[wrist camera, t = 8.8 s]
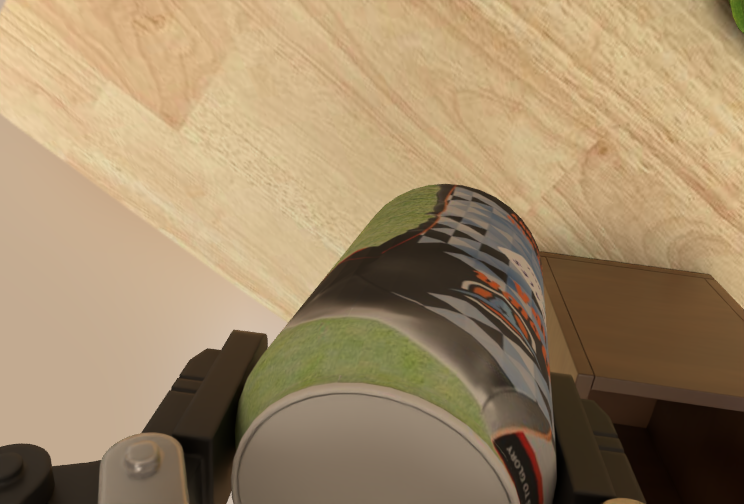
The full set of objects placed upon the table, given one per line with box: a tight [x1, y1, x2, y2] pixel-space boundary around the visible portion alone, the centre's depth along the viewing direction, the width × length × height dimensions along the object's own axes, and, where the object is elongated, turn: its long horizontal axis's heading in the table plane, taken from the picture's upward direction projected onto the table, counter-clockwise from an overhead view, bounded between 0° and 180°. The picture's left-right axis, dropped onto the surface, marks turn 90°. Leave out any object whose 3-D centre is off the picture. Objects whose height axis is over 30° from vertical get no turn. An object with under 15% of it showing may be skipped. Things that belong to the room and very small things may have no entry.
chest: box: [539, 252, 744, 504], centre depth 37 cm, size 14×12×14 cm
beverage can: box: [231, 184, 557, 504], centre depth 15 cm, size 6×7×12 cm
